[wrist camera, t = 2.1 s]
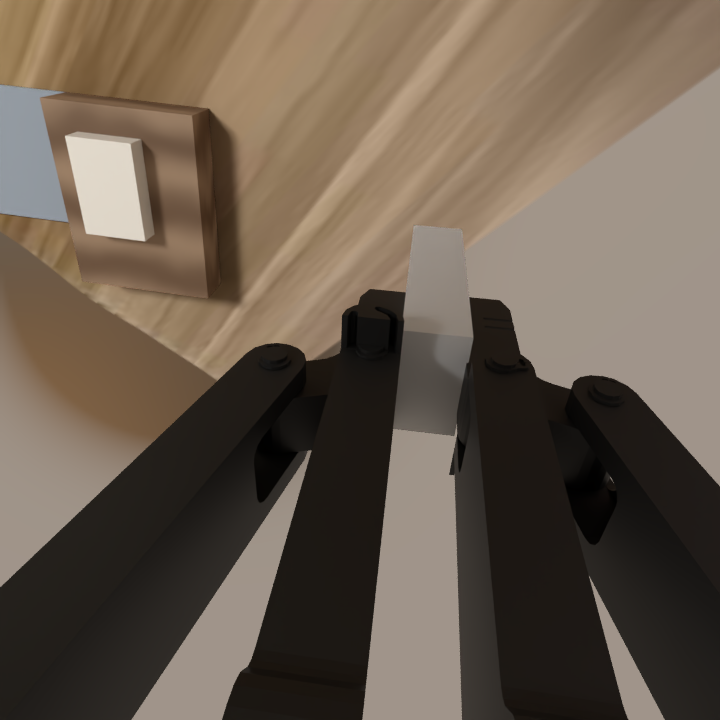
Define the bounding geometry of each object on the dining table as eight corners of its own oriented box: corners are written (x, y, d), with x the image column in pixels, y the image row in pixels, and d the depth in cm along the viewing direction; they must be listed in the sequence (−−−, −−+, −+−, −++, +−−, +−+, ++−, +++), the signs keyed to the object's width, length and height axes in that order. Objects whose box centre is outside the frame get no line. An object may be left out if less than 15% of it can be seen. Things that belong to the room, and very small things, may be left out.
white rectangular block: (77, 131, 48) (64, 135, 46) (141, 139, 47) (130, 143, 46) (97, 226, 53) (86, 233, 51) (154, 234, 52) (145, 241, 51)
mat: (-43, 79, 50) (-46, 79, 50) (66, 92, 50) (64, 92, 50) (-2, 211, 58) (-5, 212, 57) (93, 224, 57) (92, 225, 57)
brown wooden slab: (66, 92, 50) (39, 97, 46) (208, 108, 49) (191, 115, 46) (102, 266, 60) (82, 281, 57) (220, 282, 59) (207, 298, 56)
